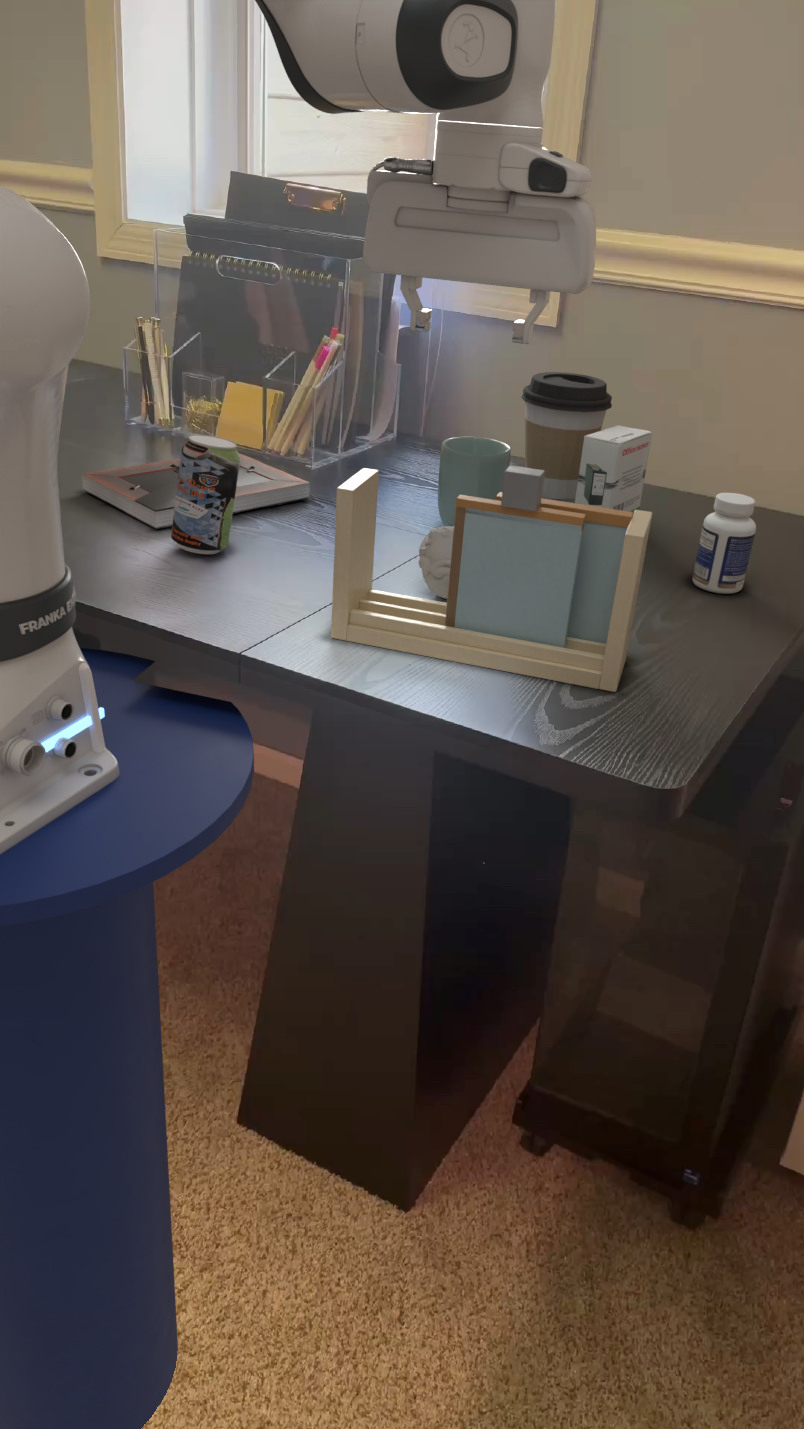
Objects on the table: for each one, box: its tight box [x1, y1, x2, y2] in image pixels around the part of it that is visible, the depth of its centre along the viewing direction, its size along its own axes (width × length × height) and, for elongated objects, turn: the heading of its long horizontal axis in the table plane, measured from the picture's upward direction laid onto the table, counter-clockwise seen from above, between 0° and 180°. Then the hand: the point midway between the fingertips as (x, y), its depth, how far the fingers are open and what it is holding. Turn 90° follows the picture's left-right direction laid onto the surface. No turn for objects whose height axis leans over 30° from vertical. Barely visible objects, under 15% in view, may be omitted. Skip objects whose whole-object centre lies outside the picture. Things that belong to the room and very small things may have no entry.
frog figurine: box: [418, 525, 454, 600], centre depth 108 cm, size 6×7×7 cm
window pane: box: [445, 465, 586, 648], centre depth 93 cm, size 2×11×16 cm, turn 73°
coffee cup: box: [520, 371, 613, 503], centre depth 138 cm, size 11×11×15 cm
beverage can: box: [170, 434, 240, 555], centre depth 114 cm, size 6×7×12 cm
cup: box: [437, 436, 511, 527], centre depth 126 cm, size 8×8×10 cm
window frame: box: [330, 467, 653, 693], centre depth 96 cm, size 7×26×14 cm, turn 73°
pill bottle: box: [691, 492, 757, 595], centre depth 115 cm, size 5×5×10 cm
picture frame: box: [81, 452, 311, 530], centre depth 132 cm, size 16×2×22 cm
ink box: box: [575, 424, 653, 514], centre depth 129 cm, size 9×5×12 cm, turn 142°
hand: (470, 336), depth 98 cm, fingers open, 8 cm apart
